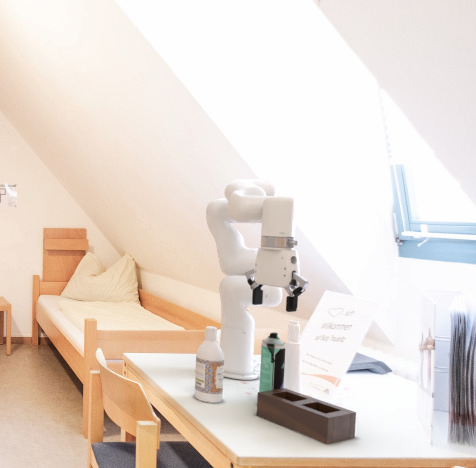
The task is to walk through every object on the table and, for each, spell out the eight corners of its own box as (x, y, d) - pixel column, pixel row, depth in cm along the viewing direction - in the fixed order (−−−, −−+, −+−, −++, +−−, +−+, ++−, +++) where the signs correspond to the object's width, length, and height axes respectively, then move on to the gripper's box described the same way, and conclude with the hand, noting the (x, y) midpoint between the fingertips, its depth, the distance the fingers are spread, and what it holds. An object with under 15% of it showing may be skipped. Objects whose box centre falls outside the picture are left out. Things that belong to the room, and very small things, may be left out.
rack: (283, 410, 139) (284, 387, 139) (354, 437, 123) (356, 412, 122) (256, 415, 135) (257, 392, 135) (326, 444, 119) (328, 417, 119)
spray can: (284, 412, 138) (288, 336, 137) (260, 409, 140) (264, 333, 139) (279, 405, 143) (283, 331, 142) (256, 402, 145) (260, 329, 144)
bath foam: (212, 405, 142) (216, 331, 141) (189, 397, 148) (192, 326, 147) (227, 400, 146) (230, 328, 145) (203, 392, 151) (206, 323, 150)
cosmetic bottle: (287, 403, 144) (291, 323, 143) (273, 395, 151) (276, 318, 149) (308, 403, 145) (312, 323, 144) (293, 395, 151) (297, 318, 150)
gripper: (319, 245, 133) (315, 313, 134) (257, 240, 149) (254, 301, 150) (299, 246, 130) (295, 315, 131) (238, 241, 146) (235, 302, 147)
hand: (273, 307), depth 141 cm, fingers open, 9 cm apart
